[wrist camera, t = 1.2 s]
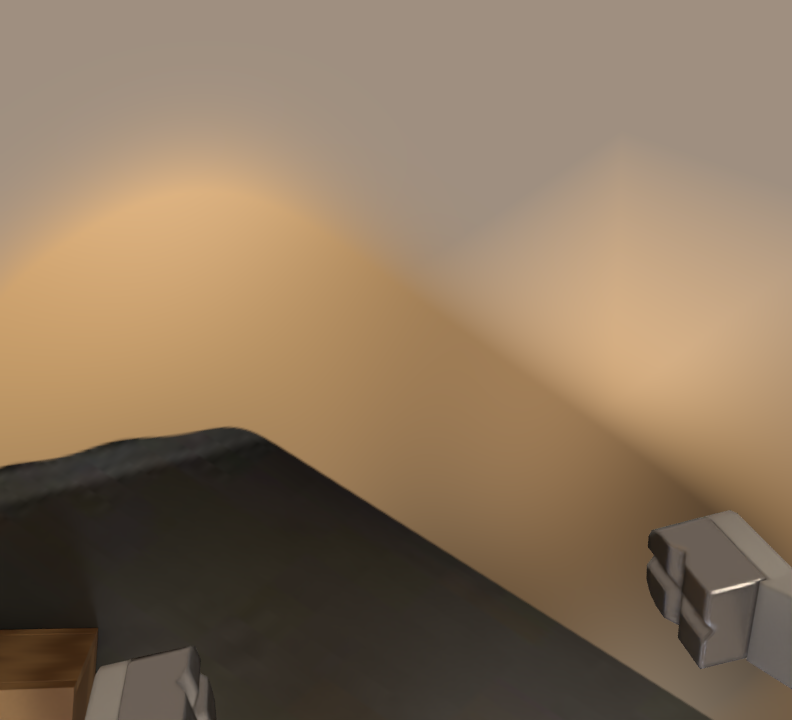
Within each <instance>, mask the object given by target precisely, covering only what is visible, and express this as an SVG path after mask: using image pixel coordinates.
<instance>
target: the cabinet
mask: <svg viewBox="0 0 792 720" xmlns="http://www.w3.org/2000/svg"><path fill="white" fill-rule="evenodd" d="M97 640H98V628H71V629H20V630H0V720H85V716H86V712H87V707H88V703H89V699H90V694H91V690H92V686H93V681H94V677H95V672H96V656H97Z"/></svg>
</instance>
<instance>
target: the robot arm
mask: <svg viewBox="0 0 792 720" xmlns="http://www.w3.org/2000/svg"><path fill="white" fill-rule="evenodd" d="M648 548H649V549H650V550H651V551H652V553H653V554H654V556H653V558H652V559H651V560H650V562H649V563H648V564H647V583H648V587H649V590H650V594H651V596H652V598H653V600H654V602H655V604H656V606H657V608H658V609H659V611H660V612H661V614H662V615H663V617H664V618H666V619H668V620H670V621H672V622H674V623H676V624H678V625H679V632H678V638H679V640H680V641H681V643H682V644H683V645H684V647H685V648H686V650H687V651H688V652H689V654H690V655H691V657H692V658H693V660H694V661H695V662H696V664H697V665H698V667H699V668H700V669H702V668H706V667H710V666H714V665H718V664H723V663H726V662H730V661H735V660H739V659H743V658H747V661H749V662H750V663H752V664H753V665H755V666H756V667H758V668H759V669H761V670H763V671H764V672H766V673H767V674H769V675H770V676H772V677H774V678H775V679H777V680H779V681H780V682H781V683H783V684H785V685H786V686H788V687H790V688H791V689H792V568H791V567H790V566H789V565H788V564H787V563H786V562H785V561H784V560H783V559H782V558H781V557H780V556H779V555H778V554H777V553H776V552H775V551H774V550H773V549H772V548H771V547H770V546H769V545H768V544H767V543H766V542H765V541H764V540H763V539H762V538H761V537H760V536H759V535H758V534H757V533H756V532H755V531H754V530H753V529H752V528H751V527H750V526H749V525H748V524H747V523H746V522H745V521H744V520H743V519H742V518H741V517H740V516H739V515H738V514H737V513H735V512H733V511H731V510H729V511H725V512H721V513H717V514H713V515H709V516H705V517H703V518H697V519H693V520H689V521H685V522H682V523H678V524H674V525H670V526H666V527H662V528H658V529H655V530H652V531H651V533H650V535H649V541H648ZM200 665H201V659H200V656H199V654H198V652H197V650H196V647H195V646H187V647H183V648H178V649H174V650H169V651H165V652H160V653H156V654H151V655H147V656H142V657H138V658H133V659H131V660H127V661H122V662H118V663H113V664H109V665H105V666H101V667H100V668H99V670H98V672H97V673H96V675H95V677H94V681H93V686H92V690H91V694H90V699H89V703H88V707H87V712H86V716H85V720H216V709H215V699H214V695H213V691H212V687H211V684H210V681H209V679H208V677H207V676H205V675H203V674H201V673H200Z"/></svg>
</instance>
